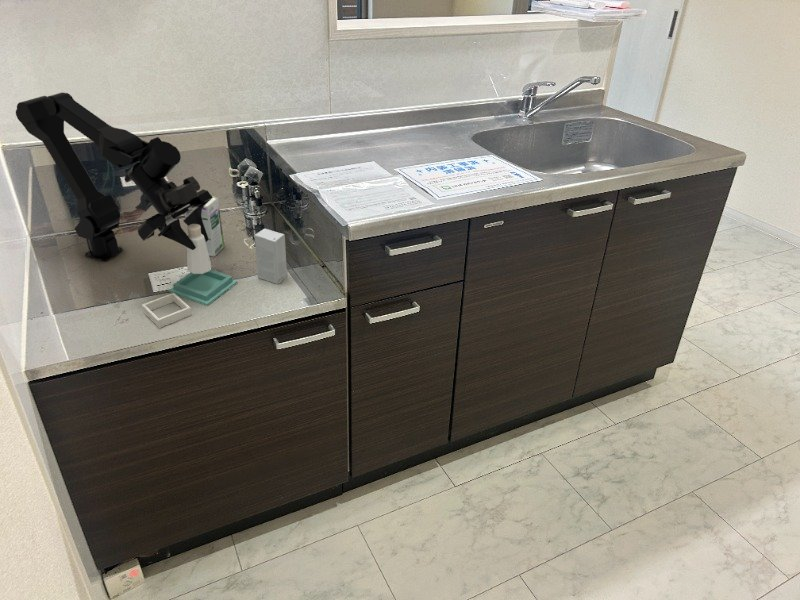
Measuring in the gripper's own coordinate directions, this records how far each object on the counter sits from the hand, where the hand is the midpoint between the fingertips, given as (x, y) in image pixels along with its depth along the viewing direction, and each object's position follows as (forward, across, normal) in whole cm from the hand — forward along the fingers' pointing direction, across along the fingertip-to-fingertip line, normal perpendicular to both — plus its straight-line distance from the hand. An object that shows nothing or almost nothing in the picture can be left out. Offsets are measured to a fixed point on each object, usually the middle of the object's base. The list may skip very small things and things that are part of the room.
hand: (201, 244), depth 135 cm
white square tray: (+8, -12, +9) cm, 17 cm away
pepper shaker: (+4, 0, +6) cm, 7 cm away
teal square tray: (+8, 0, +9) cm, 12 cm away
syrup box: (+1, +15, +17) cm, 22 cm away
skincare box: (+16, +12, +2) cm, 20 cm away
